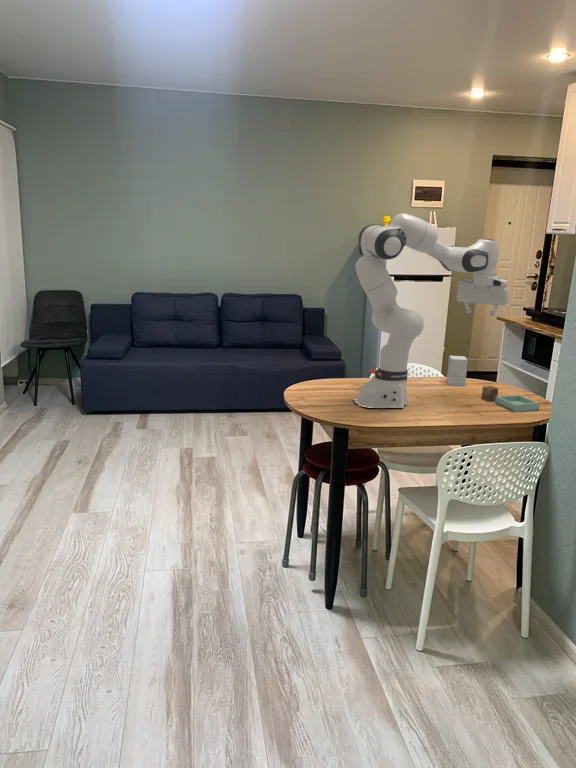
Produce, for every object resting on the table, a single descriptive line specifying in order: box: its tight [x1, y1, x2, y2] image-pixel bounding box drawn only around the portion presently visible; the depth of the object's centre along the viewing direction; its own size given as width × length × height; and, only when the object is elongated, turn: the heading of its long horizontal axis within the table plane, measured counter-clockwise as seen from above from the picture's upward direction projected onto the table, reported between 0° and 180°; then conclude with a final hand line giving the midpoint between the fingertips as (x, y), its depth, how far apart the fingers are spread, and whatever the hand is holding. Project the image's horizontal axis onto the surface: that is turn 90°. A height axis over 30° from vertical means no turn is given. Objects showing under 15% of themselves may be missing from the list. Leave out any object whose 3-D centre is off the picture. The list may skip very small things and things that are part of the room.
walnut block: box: [480, 385, 499, 402], centre depth 245 cm, size 4×4×6 cm
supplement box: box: [446, 355, 469, 387], centre depth 268 cm, size 7×7×13 cm
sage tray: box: [494, 394, 541, 413], centre depth 237 cm, size 12×12×3 cm
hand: (480, 314), depth 237 cm, fingers open, 8 cm apart
